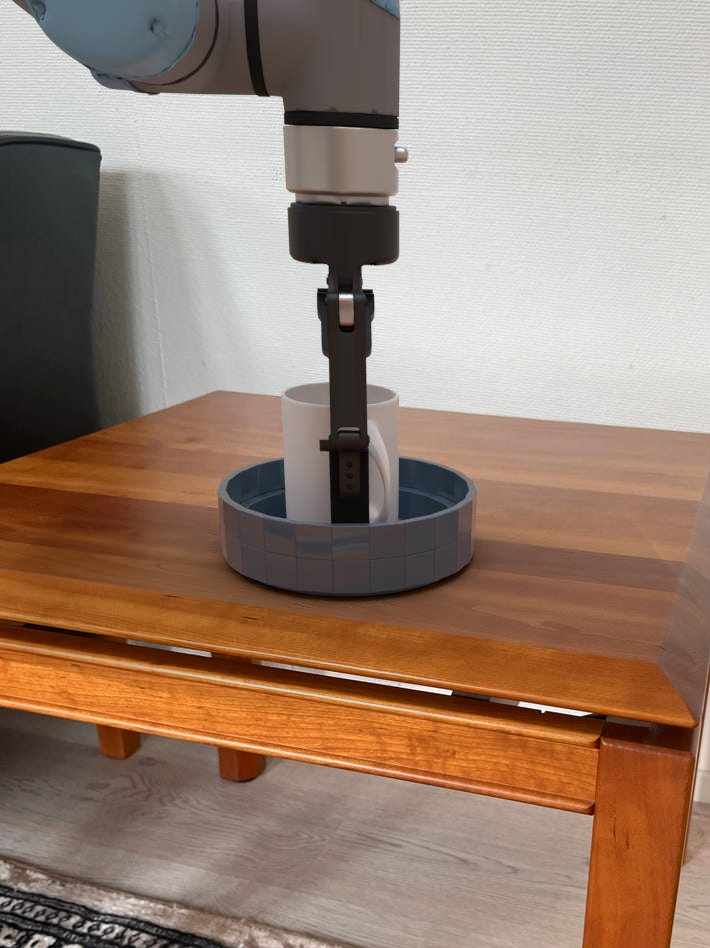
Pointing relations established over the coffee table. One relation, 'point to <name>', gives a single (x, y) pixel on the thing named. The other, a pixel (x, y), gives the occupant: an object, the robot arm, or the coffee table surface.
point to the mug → (311, 466)
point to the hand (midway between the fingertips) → (349, 513)
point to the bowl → (349, 534)
